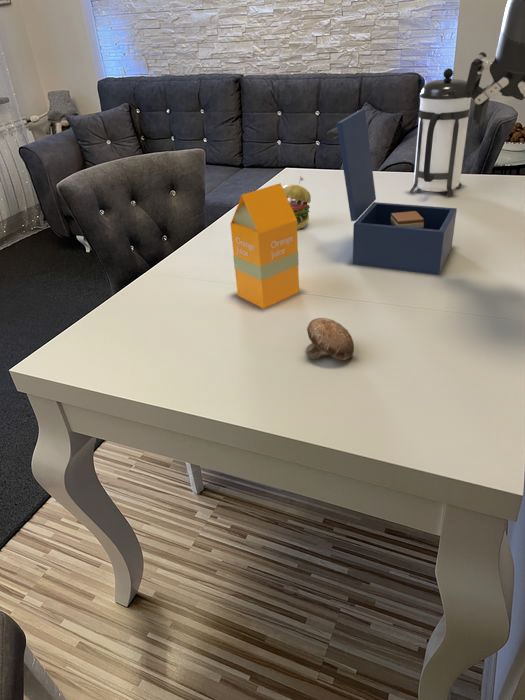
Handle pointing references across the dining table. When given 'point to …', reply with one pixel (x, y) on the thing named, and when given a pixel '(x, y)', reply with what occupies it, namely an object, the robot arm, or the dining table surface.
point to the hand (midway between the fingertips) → (505, 128)
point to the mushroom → (329, 340)
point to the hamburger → (298, 202)
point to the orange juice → (265, 247)
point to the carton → (407, 219)
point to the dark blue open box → (404, 238)
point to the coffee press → (441, 135)
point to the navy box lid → (356, 162)
